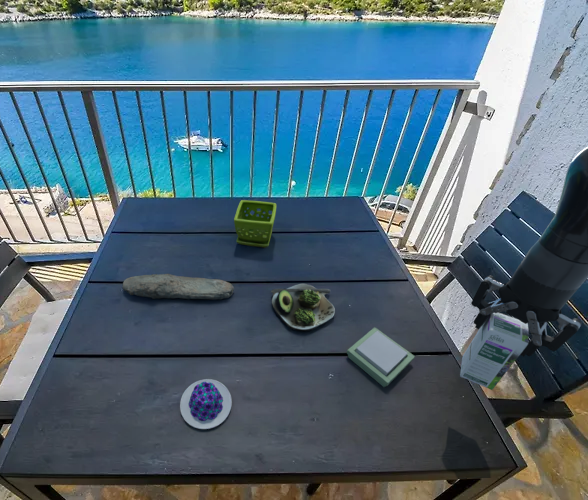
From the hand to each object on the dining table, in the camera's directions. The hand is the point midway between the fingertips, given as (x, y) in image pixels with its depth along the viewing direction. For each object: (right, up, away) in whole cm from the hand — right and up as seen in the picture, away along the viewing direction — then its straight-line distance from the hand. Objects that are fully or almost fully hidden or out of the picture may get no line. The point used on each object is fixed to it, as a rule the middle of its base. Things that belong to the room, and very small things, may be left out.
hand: (500, 339), depth 63 cm
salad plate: (-29, -2, +42) cm, 51 cm away
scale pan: (-11, -11, +26) cm, 30 cm away
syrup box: (0, -9, +7) cm, 11 cm away
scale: (-11, -13, +28) cm, 32 cm away
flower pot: (-41, +20, +69) cm, 83 cm away
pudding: (-55, -20, +18) cm, 62 cm away
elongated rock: (-67, +3, +47) cm, 82 cm away
